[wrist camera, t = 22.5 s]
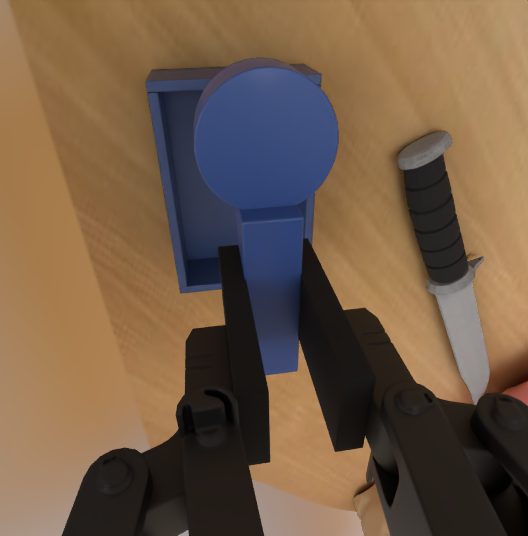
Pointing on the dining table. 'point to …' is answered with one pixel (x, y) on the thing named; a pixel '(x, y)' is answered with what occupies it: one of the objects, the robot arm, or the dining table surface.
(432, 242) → the knife
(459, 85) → the dining table surface
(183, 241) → the blue bin
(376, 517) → the container
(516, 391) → the cell model
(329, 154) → the blue spoon
